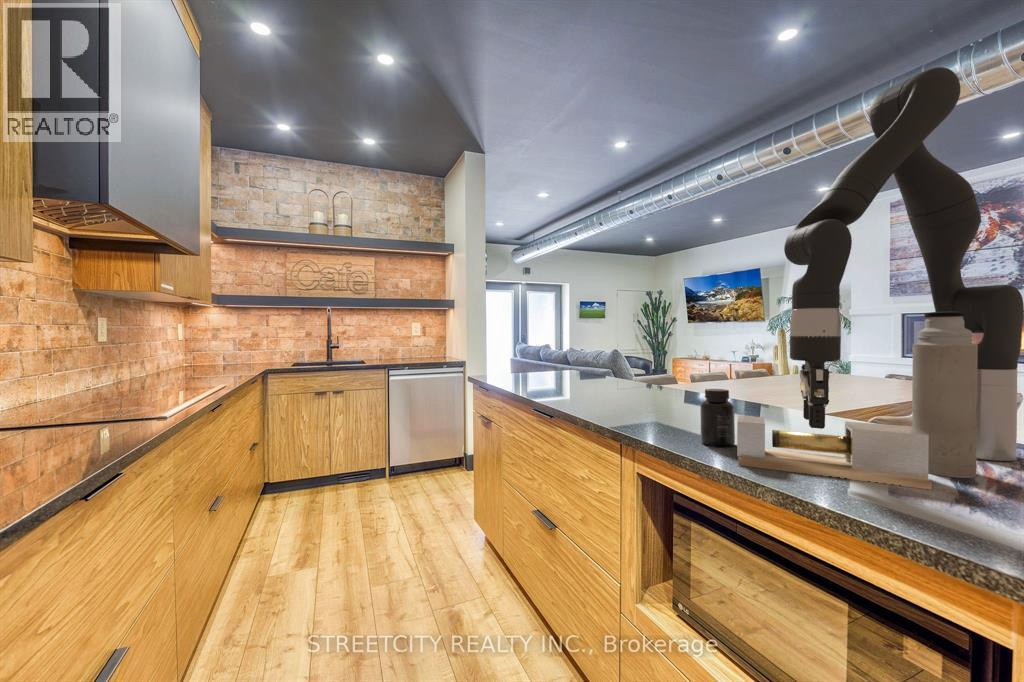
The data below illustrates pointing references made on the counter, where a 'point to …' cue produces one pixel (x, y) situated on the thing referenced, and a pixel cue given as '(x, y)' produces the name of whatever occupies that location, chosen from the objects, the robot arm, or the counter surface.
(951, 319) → the thermos bottle
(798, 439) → the tube
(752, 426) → the sleeve socket
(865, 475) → the base board
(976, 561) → the counter surface
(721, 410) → the supplement bottle
